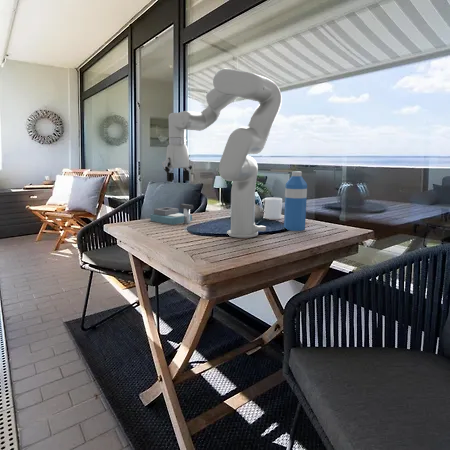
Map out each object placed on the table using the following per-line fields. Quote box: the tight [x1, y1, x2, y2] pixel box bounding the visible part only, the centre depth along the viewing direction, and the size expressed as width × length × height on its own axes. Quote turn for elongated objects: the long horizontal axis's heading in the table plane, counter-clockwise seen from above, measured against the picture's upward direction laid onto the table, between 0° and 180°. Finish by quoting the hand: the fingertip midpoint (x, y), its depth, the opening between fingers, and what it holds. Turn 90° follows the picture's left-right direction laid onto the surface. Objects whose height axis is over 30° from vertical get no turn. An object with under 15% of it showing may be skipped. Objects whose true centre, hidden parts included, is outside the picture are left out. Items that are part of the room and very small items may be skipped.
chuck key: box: [179, 203, 194, 225], centre depth 160 cm, size 7×3×9 cm, turn 51°
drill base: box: [149, 206, 193, 226], centre depth 168 cm, size 18×13×6 cm
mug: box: [261, 197, 283, 221], centre depth 174 cm, size 11×9×10 cm
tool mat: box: [168, 212, 184, 217], centre depth 164 cm, size 6×7×1 cm
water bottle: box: [283, 170, 308, 232], centre depth 147 cm, size 9×9×25 cm
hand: (178, 181), depth 154 cm, fingers open, 9 cm apart
